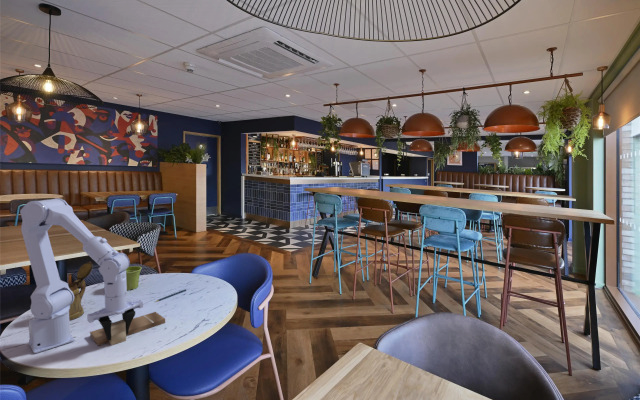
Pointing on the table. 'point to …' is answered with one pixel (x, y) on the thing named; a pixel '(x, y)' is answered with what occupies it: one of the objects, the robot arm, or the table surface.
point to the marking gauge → (118, 332)
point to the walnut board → (131, 327)
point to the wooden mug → (76, 307)
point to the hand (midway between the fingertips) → (117, 336)
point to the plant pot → (132, 277)
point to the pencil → (171, 295)
